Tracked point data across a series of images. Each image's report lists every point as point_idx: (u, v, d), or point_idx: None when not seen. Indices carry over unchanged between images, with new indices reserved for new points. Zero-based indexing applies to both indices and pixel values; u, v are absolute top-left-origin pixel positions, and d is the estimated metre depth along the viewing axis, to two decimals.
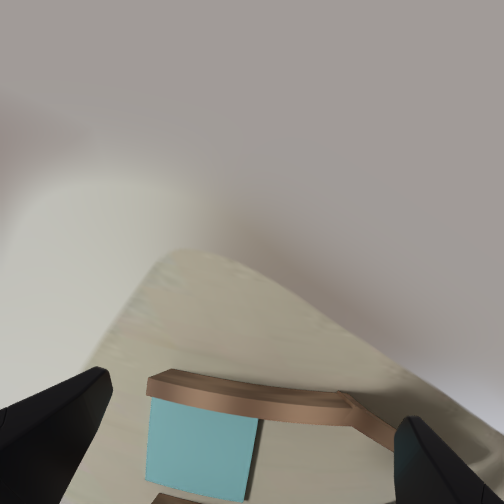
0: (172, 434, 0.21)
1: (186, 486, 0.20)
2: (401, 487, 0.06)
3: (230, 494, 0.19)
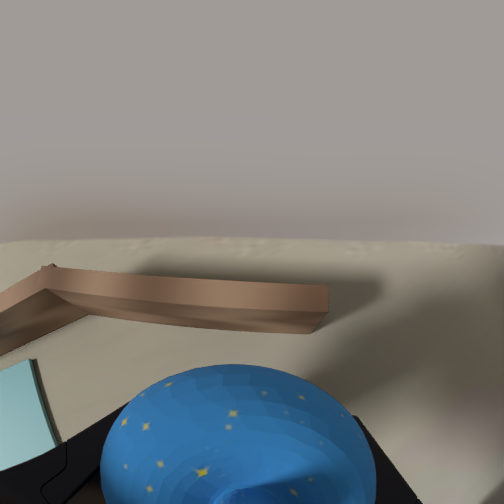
0: None
1: None
2: None
3: None
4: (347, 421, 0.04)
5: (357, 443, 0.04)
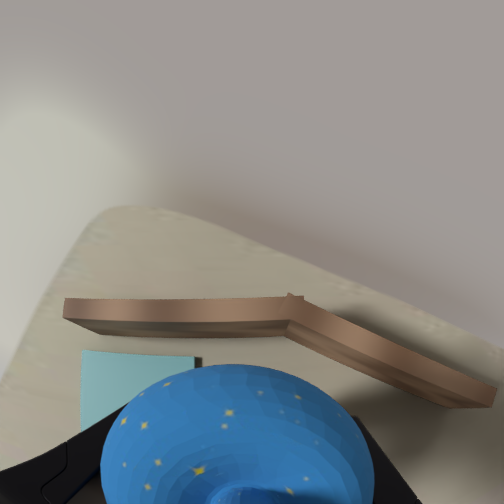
0: (104, 393, 0.18)
1: None
2: None
3: None
4: (345, 421, 0.04)
5: (353, 443, 0.04)
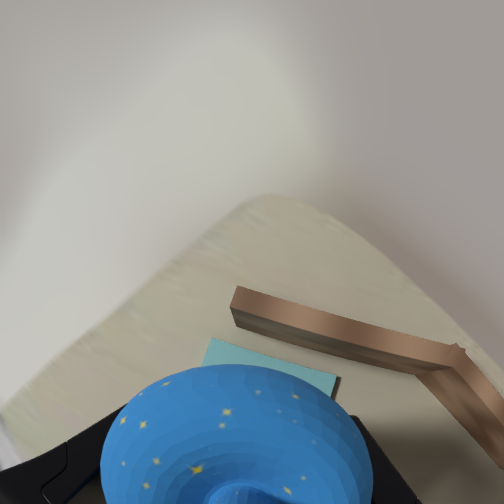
0: None
1: None
2: None
3: None
4: (342, 420, 0.04)
5: (351, 442, 0.04)
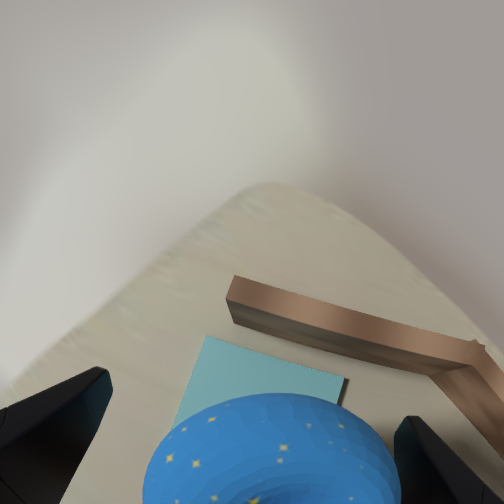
0: (222, 393, 0.16)
1: None
2: (401, 487, 0.06)
3: None
4: (379, 443, 0.04)
5: (388, 462, 0.04)
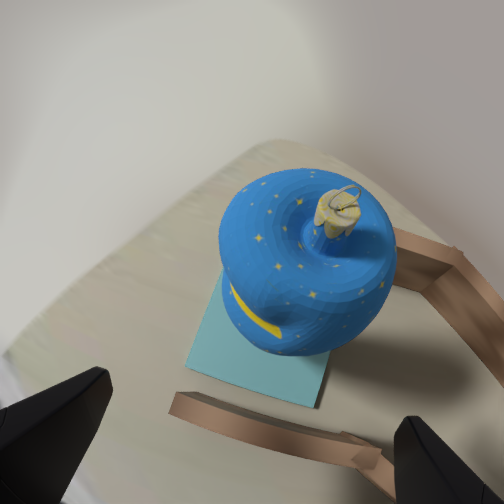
0: None
1: (241, 377, 0.18)
2: (401, 487, 0.06)
3: (299, 393, 0.18)
4: None
5: None
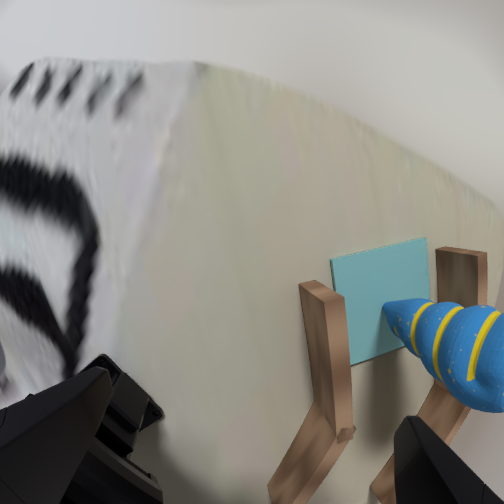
0: (399, 271, 0.22)
1: (345, 307, 0.21)
2: (401, 487, 0.06)
3: (351, 352, 0.22)
4: None
5: None
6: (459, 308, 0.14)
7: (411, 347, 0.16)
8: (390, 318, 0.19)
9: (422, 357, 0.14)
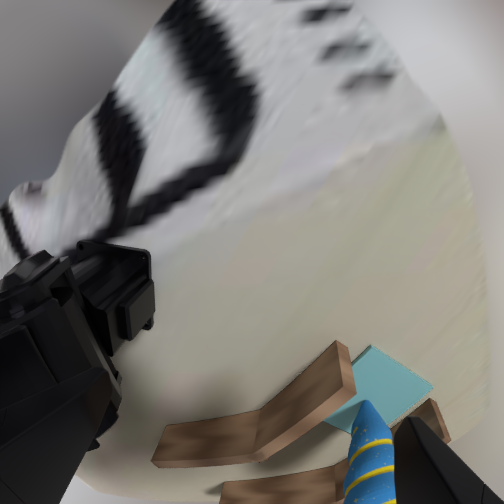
0: (397, 391, 0.22)
1: None
2: (401, 487, 0.06)
3: None
4: None
5: None
6: None
7: (352, 454, 0.17)
8: (360, 418, 0.20)
9: (351, 471, 0.16)
